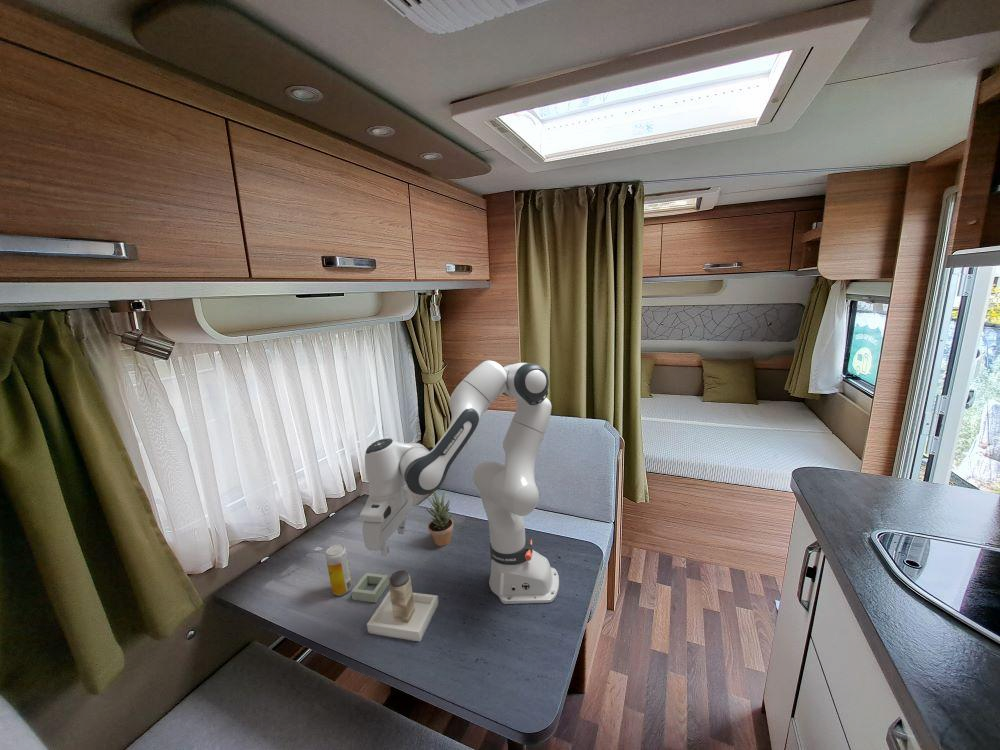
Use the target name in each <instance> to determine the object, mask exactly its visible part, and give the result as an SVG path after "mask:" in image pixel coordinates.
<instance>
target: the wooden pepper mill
mask: <svg viewBox="0 0 1000 750" xmlns="http://www.w3.org/2000/svg"><path fill="white" fill-rule="evenodd" d="M388 589H389V591H390V596H391V603H392V609H393V616H394V621H398V622H405V623H408V622H409V621H410V619H411V617H412V615H413V613H414V611H415V608H414V600H413V593H414V592H413V587H412V581H411V575H409V572H408V571H407V570H404V569H403V570H402V569H401V570H397V571H395V572H393V573H392V574H391V575H390V577H389V584H388ZM412 592H413V593H412Z"/></svg>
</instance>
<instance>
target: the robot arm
mask: <svg viewBox="0 0 1000 750" xmlns="http://www.w3.org/2000/svg"><path fill="white" fill-rule="evenodd" d="M549 383H550V381H549V375H548V372H547V371H546V370H545V368H544V367H543V366H541V365H539V364H536V363H533V362H517V363H511V364H510V363H509V364H506V365H503V366H502V365H501V364H500V363H499V362H497V361H494V360H484V361H482V362H481V363H480V364H479V365H477V366H475V367H474V369H472V370H471V371H470V372H469V373H468V374H467V375H466V376H465V377H464V378H463V379H462V380H461V381H460V382H459V384H458V385H457V386H456V387H455V388H454V390H453V391H452V392H451V395H450V396H449V403H448V404H449V410H450V413H451V419H450V420H451V421H450V424H449V425H448V428H447V429H446V431H444V433H443V435H442V436H441V437H440V439H439V440H438V441H437V443H436V444H435V445H434V447H433V448H432V449H431V450H429V449H428V448H427V447H426V446H424V445H423V444H422V443H419V442H409V443H407V442H402V441H401V442H400V441H396V440H394V439H392V438H382V439H379V440H376V441H374V442H372V443H370V445H369V446H368V447H367V448H366V450H365V453H364V467H365V468H364V469H365V475H366V479H367V482H368V484H369V486H368V494H369V495H368V498H367V499H366V503H365V505H364V506H363V508H362V510H361V511H360V513H359V519H360V521H363V523H362V527H361V528H362V529H361V531H362V536H363V543H364V547H365V548H366V549H367V550H369V551H377V552H378V551H379V552H380V555H381V557H387V555H389V553H390V547H389V546H387V542H388V540H390V538H391V537H392V535H393V534H394V533H395V532H396V531H397V533H398V534H399V535H404V534H405V532H406V531H407V530H406V529H407V528H406V524H407V519H408V517H407V516H408V515H409V514H410V513H411V512H412V511H413V499H412V495H411V492H412V493H413V494H416V495H420V496H425V495H430V494H433V492H434V491H436V492H437V490H439V489H440V488H441V486H442V485H443V483H444V482H445V479H446V476H447V474H448V472H449V470H450V467H451V466H452V464H453V462H454V461H455V460H456V458H457V456H458V455H459V454H460V452H461V451H462V450H463V448H464V447H465V446H466V444H467V442H468V441H469V440H470V438H471V437H472V436H473V434H474V432H475V431H476V429H477V427H478V425H479V422H480V419H482V416H484V413H485V412H486V411H487V410H488V408H489V407H490V406H491V405H492V404H493V402H494V401H495V400H496V399H497V398H498V397H499V396H500V395H505V396H507V397H510V398H515V400H516V409H515V413H514V414H513V417H512V419H511V421H510V424H509V426H508V429H507V431H506V433H505V436H504V439H503V441H502V448H503V450H504V454H505V460H504V461H505V462H504V464H502V463H500V462H496V461H491V460H485V461H484V460H483V461H482V462H480V463H479V464H478V465H477V466H476V467H475V468H474V471H473V474H472V482H473V485H474V486H475V488H476V490H477V492H478V493H479V496H480V499H481V502H482V505H483V509H484V511H485V515H486V518H487V523H488V528H489V529H488V530H489V537H490V538H489V539H490V542H489V557H490V560H491V565H490V567H491V568H490V576H489V579H488V584H489V588H490V590H491V591H492V592H493V593H494V594H495V595H496V596H497V597H498V599H499V600H500V602H501V603H502V604H504V605H508V604H510V605H511V604H512V605H513V604H514V605H516V604H517V605H518V604H544V603H545V604H546V603H547V604H548V603H551V602H553V601H554V600H555V599H556V597H557V595H558V593H559V589H560V577H559V573H558V571H557V569H556V568H554V567H552V566H551V565H550V562H549V560H548V558H547V557H545V556H544V555H542V554H540V553H539V552H538V551H535V550H534V549H533V539H530V542H529V541H528V540H527V538H526V529H525V527H526V526H525V524H526V523H525V518H524V516H528V515H529V514H531V513H532V512H533V511H534V510H535V509H536V507H537V506H538V503H539V501H540V500H539V499H540V492H539V489H538V486H537V484H536V479H535V478H536V477H535V466H536V460H537V456H538V453H539V450H540V447H541V443H543V439H544V436H545V433H546V431H547V429H548V426H549V421H550V419H551V415H552V408H553V407H552V402H551V401H550V400H549V398H547V397H548V395H549V391H548V390H549V385H550V384H549Z"/></svg>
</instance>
